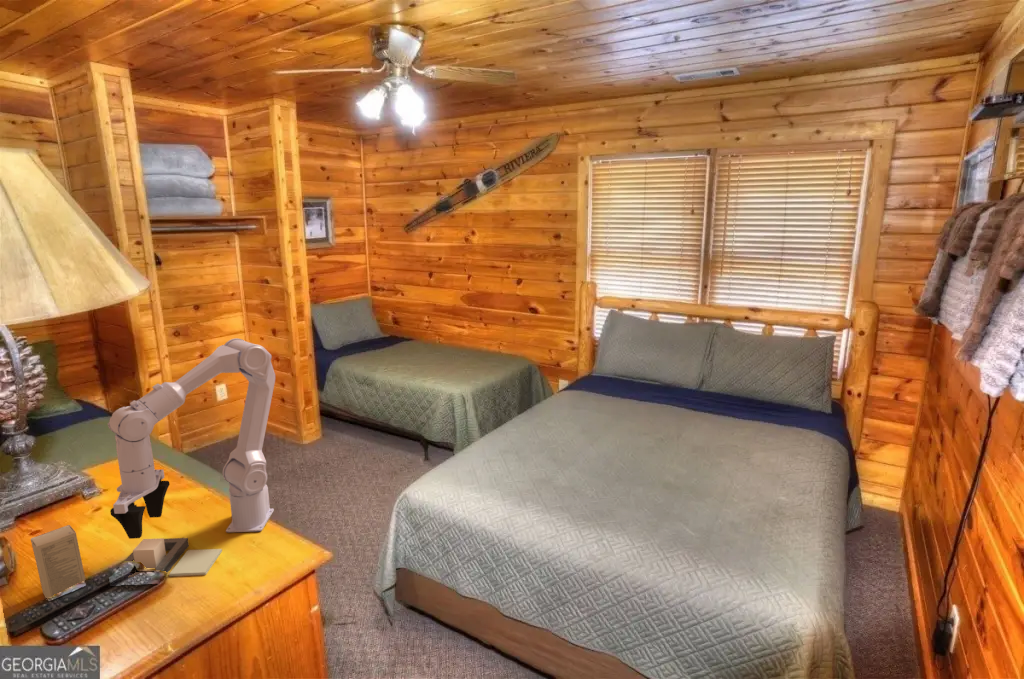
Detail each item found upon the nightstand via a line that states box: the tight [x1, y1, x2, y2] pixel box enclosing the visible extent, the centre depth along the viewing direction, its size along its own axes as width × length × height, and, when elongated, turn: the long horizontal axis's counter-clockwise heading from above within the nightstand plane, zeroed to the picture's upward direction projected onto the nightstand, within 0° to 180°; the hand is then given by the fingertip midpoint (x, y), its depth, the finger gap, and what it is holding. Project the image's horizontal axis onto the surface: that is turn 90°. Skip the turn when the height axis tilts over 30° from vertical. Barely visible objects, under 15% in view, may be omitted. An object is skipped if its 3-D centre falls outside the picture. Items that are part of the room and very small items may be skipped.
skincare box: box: [30, 524, 86, 599], centre depth 106 cm, size 6×4×12 cm
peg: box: [132, 537, 167, 568], centre depth 115 cm, size 4×4×5 cm
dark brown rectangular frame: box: [124, 537, 190, 578], centre depth 116 cm, size 13×9×2 cm
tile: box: [168, 548, 223, 577], centre depth 117 cm, size 8×7×1 cm
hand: (145, 526), depth 114 cm, fingers open, 7 cm apart
